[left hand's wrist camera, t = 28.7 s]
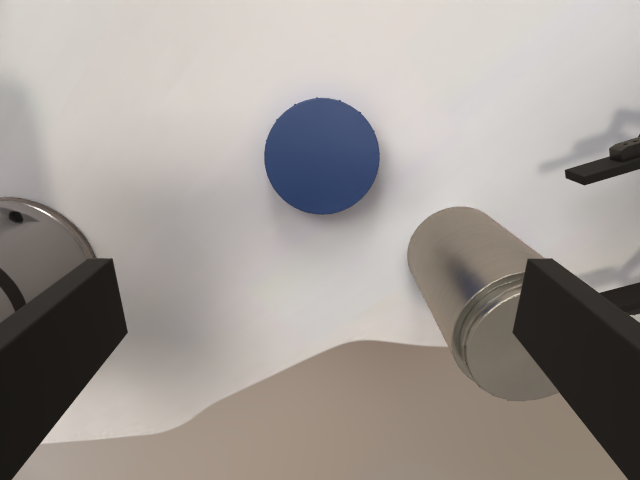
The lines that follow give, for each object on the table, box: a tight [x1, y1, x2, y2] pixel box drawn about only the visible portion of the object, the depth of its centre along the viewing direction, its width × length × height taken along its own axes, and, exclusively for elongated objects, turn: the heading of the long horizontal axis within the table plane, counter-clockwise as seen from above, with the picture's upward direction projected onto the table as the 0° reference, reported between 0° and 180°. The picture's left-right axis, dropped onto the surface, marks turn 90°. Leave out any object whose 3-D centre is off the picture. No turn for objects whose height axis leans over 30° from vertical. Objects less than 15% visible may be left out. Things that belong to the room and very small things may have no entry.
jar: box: [407, 207, 559, 401], centre depth 35 cm, size 10×10×17 cm
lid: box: [265, 97, 380, 214], centre depth 38 cm, size 11×11×2 cm
